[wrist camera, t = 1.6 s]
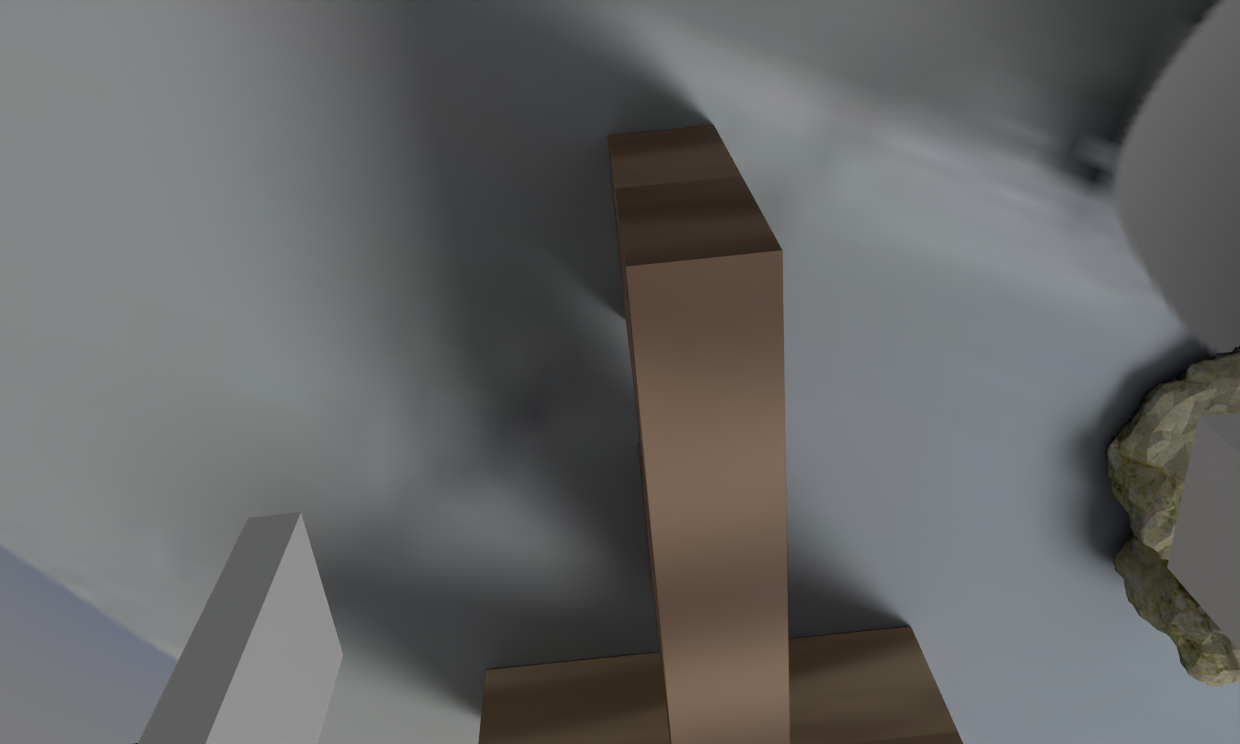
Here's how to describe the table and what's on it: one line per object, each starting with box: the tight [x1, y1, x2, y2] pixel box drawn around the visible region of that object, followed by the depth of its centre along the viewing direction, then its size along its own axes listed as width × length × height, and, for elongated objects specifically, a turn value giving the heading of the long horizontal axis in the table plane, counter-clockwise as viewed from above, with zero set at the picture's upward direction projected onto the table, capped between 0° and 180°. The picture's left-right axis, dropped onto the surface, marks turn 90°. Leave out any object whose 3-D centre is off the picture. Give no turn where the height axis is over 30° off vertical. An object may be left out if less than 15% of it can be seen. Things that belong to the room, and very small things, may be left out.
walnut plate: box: [608, 125, 790, 744], centre depth 27 cm, size 16×3×10 cm, turn 5°
